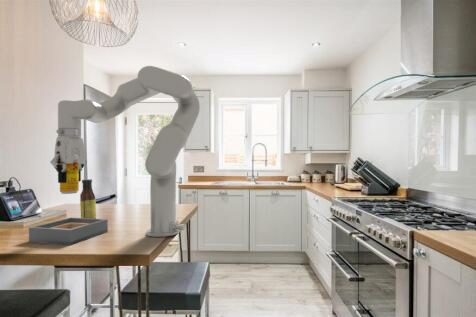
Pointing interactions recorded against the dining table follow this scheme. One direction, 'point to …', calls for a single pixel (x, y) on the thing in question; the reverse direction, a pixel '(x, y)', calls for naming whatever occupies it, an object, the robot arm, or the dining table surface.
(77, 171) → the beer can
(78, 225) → the walled box
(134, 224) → the dining table surface
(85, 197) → the sauce bottle
